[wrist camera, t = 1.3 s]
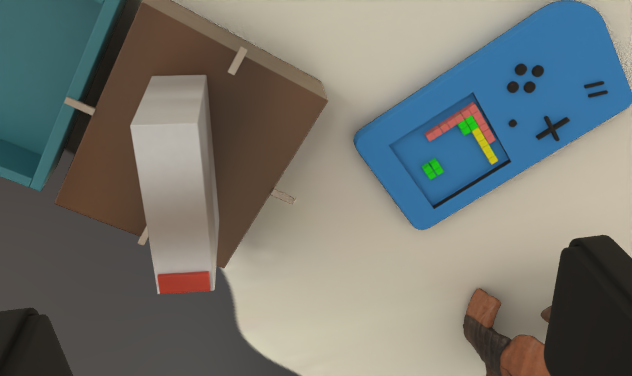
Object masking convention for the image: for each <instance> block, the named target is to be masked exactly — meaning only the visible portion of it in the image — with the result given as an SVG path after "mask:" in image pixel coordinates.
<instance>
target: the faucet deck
mask: <svg viewBox="0 0 632 376" xmlns="http://www.w3.org/2000/svg"><path fill="white" fill-rule="evenodd" d="M177 75H206V76H207V86H208V97H209V108H210V120H211V131H212V143H213V154H214V166H215V177H216V188H217V200H218V211H219V232H218V247H217V261H216V266H219V267H222V268H225V266H226V265H227V263H228V261H229V260H230V258H231V257H232V255H233V253H234V252H235V250H236V249H237V247H238V245H239V244H240V242H241V240H242V239H243V237H244V236H245V234H246V232H247V231H248V229H249V228H250V226H251V224H252V223H253V221H254V220H255V218H256V216H257V215H258V213H259V211H260V210H261V208H262V207H263V205H264V203H265V202H266V200H267V199H268V197H269V195H272V196H274V197H277V198H279V199H281V200H284V201H286V202H288V203H290V204H293V203H294V201H295V198H293V197H291V196H289V195H287V194H285V193H282V192H280V191H278V190H276V189H274V187H275V186H276V184H277V182H278V181H279V179H280V178H281V176H282V174H283V173H284V171H285V170H286V168H287V166H288V165H289V163H290V162H291V160H292V158H293V157H294V155H295V153H296V152H297V150H298V149H299V147H300V145H301V144H302V142H303V141H304V139H305V137H306V136H307V134H308V133H309V131H310V129H311V128H312V126H313V124H314V123H315V121H316V120H317V118H318V116H319V115H320V113H321V112H322V110H323V108H324V107H325V105H326V104H327V102H328V99H327V97H326V94H325V91H324V88H323V86H322V83H321V81H319V80H317V79H315V78H313V77H312V76H310V75H308V74H306V73H304V72H302V71H301V70H299V69H297V68H295V67H293V66H291V65H289V64H288V63H286V62H284V61H282V60H280V59H278V58H277V57H275V56H273V55H271V54H269V53H267V52H265V51H264V50H262V49H260V48H258V47H256V46H254V45H253V44H251V43H249V42H247V41H245V40H243V39H241V38H240V37H238V36H236V35H234V34H232V33H230V32H229V31H227V30H225V29H223V28H221V27H219V26H217V25H216V24H214V23H212V22H210V21H208V20H206V19H205V18H203V17H201V16H199V15H197V14H195V13H193V12H192V11H190V10H188V9H186V8H184V7H182V6H181V5H179V4H177V3H175V2H173V1H171V0H142V1H141V3H140V5H139V8H138V10H137V12H136V15H135V17H134V19H133V21H132V24H131V26H130V28H129V31H128V33H127V35H126V38H125V40H124V42H123V45H122V47H121V49H120V52H119V54H118V56H117V59H116V61H115V63H114V65H113V68H112V70H111V72H110V75H109V77H108V79H107V82H106V84H105V86H104V89H103V91H102V93H101V96H100V98H99V100H98V103H97V105H96V107H95V108H93V107H91V106H89V105H86V104H84V103H82V102H80V101H77V100H75V99H73V98H71V97H69V96H67V97H66V99H65V102H64V103H65V104H67V105H70V106H72V107H74V108H76V109H79V110H81V111H83V112H85V113H88V114H90V115H92V116H91V119H90V121H89V123H88V126H87V128H86V130H85V133H84V135H83V137H82V140H81V142H80V144H79V147H78V149H77V151H76V153H75V156H74V158H73V161H72V163H71V165H70V167H69V170H68V172H67V174H66V177H65V179H64V181H63V184H62V186H61V188H60V191H59V193H58V195H57V198H56V200H55V204H56V205H59V206H61V207H64V208H67V209H69V210H72V211H75V212H77V213H80V214H82V215H85V216H88V217H90V218H93V219H96V220H98V221H101V222H103V223H106V224H109V225H111V226H114V227H117V228H119V229H122V230H125V231H128V232H130V233H133V234H135V235H138V236H140V239H139V241H138V244H141V245H144V244H145V242H146V240H147V239H149V236H148V230H147V224H146V218H145V212H144V206H143V200H142V194H141V188H140V182H139V176H138V170H137V164H136V158H135V152H134V146H133V140H132V134H131V128H130V125H131V123H132V121H133V118H134V116H135V114H136V112H137V109H138V107H139V105H140V103H141V100H142V98H143V96H144V93H145V91H146V89H147V87H148V84H149V82H150V80H151V78H152V76H177Z"/></svg>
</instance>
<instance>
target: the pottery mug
mask: <svg viewBox="0 0 632 376" xmlns="http://www.w3.org/2000/svg"><path fill="white" fill-rule="evenodd" d="M500 306H501V302H500V301H499V300H498V299H496V298H495V297H493V296H490V295H488V294H487V293H486V292H484V291H483V290H482V289H480V288H479V289H477V290H476V291H475V293H474V295H473V296H472V298H471V300H470V303H469V304H468V308H467V311H466V315H465V319H464V324H463V328H464V335H465V337H466V339H467V340H468V341H469V342H470V343H471V344H472V346H473V347H474V349H475V350H476V351H477V353H478V354H479V355H480V357H481V359H482V360H483V361H484V362H485V365H486V370H487V373H486V376H551V375H550V374H549V372H548V370H547V368H546V365H545V361H544V347H545V344H543V343H541V342H540V341H538V340H537V339H536V338H535V337H533V336H527V335H518V336H516V337H515V338H514V339H513V340H511V339H510V338H508V337H506V336H503V335H501V334H499V333H497V332H496V331H495V330H494V329H493V328H492V326H493V323H494V319H495V317H496V314H497V312H498V309H499V308H500ZM551 307H552V306H550V307H548V308H547V309H545V310H543V311H542V313H541V317H542V318H543V319H544V320H546V321H547V322H548V323H549V318H550V313H551Z"/></svg>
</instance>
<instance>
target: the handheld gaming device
mask: <svg viewBox="0 0 632 376" xmlns="http://www.w3.org/2000/svg"><path fill="white" fill-rule="evenodd" d="M631 103H632V92H631V89H630V87H629V84H628V82H627V79H626V76H625V74H624V71H623V69H622V66H621V64H620V61H619V58H618V56H617V53H616V51H615V48H614V46H613V43H612V40H611V38H610V35H609V33H608V30H607V28H606V25H605V22H604V20H603V18H602V17H601V15H600V14H599V13H598V12H597V11H596V10H595V9H594V8H592V7H590V6H588V5H586V4H583V3H581V2H578V1H573V0H562V1H557V2H554V3H551V4H549V5H547V6H545V7H543V8H541V9H540V10H538V11H537V12H535V13H534V14H532V15H531V16H529V17H528V18H526V19H525V20H523V21H522V22H520V23H519V24H517V25H516V26H514V27H513V28H511V29H510V30H508V31H507V32H505V33H504V34H502V35H501V36H499V37H498V38H496V39H495V40H493V41H492V42H490V43H489V44H487V45H486V46H484V47H483V48H481V49H480V50H478V51H477V52H475V53H474V54H472V55H471V56H469V57H468V58H466V59H465V60H463V61H462V62H460V63H459V64H457V65H456V66H454V67H453V68H451V69H450V70H448V71H447V72H445V73H444V74H442V75H441V76H439V77H438V78H436V79H435V80H433V81H432V82H430V83H429V84H427V85H426V86H424V87H423V88H421V89H420V90H418V91H417V92H415V93H414V94H412V95H411V96H409V97H408V98H406V99H405V100H404V101H402V102H401V103H399V104H398V105H396V106H395V107H393V108H392V109H390V110H389V111H387V112H386V113H384V114H383V115H381V116H380V117H378V118H377V119H375V120H374V121H372V122H371V123H369V124H368V125H366V126H365V127H363V128H362V129H360V130H359V131H358V132H357V133H356V134H355V136H354V144H355V147H356V149H357V151H358V152H359V154H360V155H361V156H362V158H363V159H364V161H365V162H366V163H367V165H368V166H369V167H370V169H371V170H372V171H373V173H374V174H375V175H376V177H377V178H378V179H379V181H380V182H381V184H382V185H383V186H384V188H385V189H386V190H387V192H388V193H389V194H390V196H391V197H392V198H393V200H394V201H395V202H396V204H397V205H398V207H399V208H400V209H401V211H402V212H403V213H404V215H405V216H406V217H407V219H408V220H409V221H410V223H411V224H412V225H413V226H414V227H415V228H416V229H419V230H424V229H428V228H430V227H431V226H433V225H435V224H436V223H438V222H440V221H441V220H443V219H445V218H446V217H448V216H450V215H451V214H453V213H455V212H456V211H458V210H459V209H461V208H463V207H464V206H466V205H468V204H469V203H471V202H473V201H474V200H476V199H478V198H479V197H481V196H483V195H484V194H486V193H487V192H489V191H491V190H492V189H494V188H496V187H497V186H499V185H501V184H502V183H504V182H506V181H507V180H509V179H511V178H512V177H514V176H516V175H517V174H519V173H520V172H522V171H524V170H525V169H527V168H529V167H530V166H532V165H534V164H535V163H537V162H539V161H540V160H542V159H544V158H545V157H547V156H548V155H550V154H552V153H553V152H555V151H557V150H558V149H560V148H562V147H563V146H565V145H567V144H568V143H570V142H572V141H573V140H575V139H577V138H578V137H580V136H581V135H583V134H585V133H586V132H588V131H590V130H591V129H593V128H595V127H596V126H598V125H600V124H601V123H603V122H605V121H606V120H608V119H609V118H611V117H613V116H614V115H616V114H618V113H619V112H621V111H623V110H624V109H626V108H627V107H629V106H630V105H631Z"/></svg>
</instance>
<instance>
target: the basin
mask: <svg viewBox="0 0 632 376" xmlns="http://www.w3.org/2000/svg"><path fill="white" fill-rule="evenodd" d="M126 1H127V0H0V176H1V177H3V178H6V179H8V180H11V181H14V182H16V183H19V184H21V185H24V186H27V187H29V186H30V188H32V189H35V190H37V191H42V189H43V187H44V186H45V184H46V183H47V181H48V180H49V178H50V176H51V174H52V173H53V171H54V170H55V168H56V167H57V165H58V163H59V160H60V158H61V155H62V153H63V151H64V148H65V146H66V144H67V141H68V139H69V137H70V134H71V132H72V129H73V127H74V125H75V122H76V120H77V118H78V115H79V113H80V110H79V109H76V108H74V107H72V106H70V105H67V104H65V103H64V102H65V99H66V97H67V96H69V97H71V98H73V99H75V100H77V101H80V102H82V103H84V101H85V98H86V96H87V94H88V91H89V89H90V87H91V84H92V82H93V79H94V77H95V75H96V72H97V70H98V68H99V65H100V63H101V60H102V58H103V56H104V53H105V51H106V49H107V46H108V44H109V41H110V39H111V37H112V34H113V32H114V30H115V27H116V25H117V22H118V20H119V18H120V15H121V13H122V11H123V8H124V6H125V3H126Z"/></svg>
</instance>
